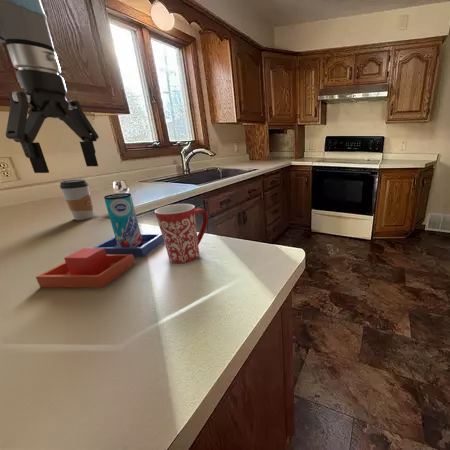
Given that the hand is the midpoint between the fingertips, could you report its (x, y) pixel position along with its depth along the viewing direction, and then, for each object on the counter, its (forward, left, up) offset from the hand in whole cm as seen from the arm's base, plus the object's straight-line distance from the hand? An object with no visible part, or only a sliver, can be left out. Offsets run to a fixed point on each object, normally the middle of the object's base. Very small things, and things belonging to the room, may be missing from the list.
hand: (70, 169), depth 62 cm
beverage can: (+9, +1, -22) cm, 24 cm away
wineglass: (-26, +48, -23) cm, 59 cm away
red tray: (+9, -13, -23) cm, 28 cm away
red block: (+10, -13, -22) cm, 27 cm away
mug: (+28, -3, -23) cm, 37 cm away
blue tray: (+9, +1, -23) cm, 25 cm away
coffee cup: (-31, +31, -23) cm, 49 cm away
